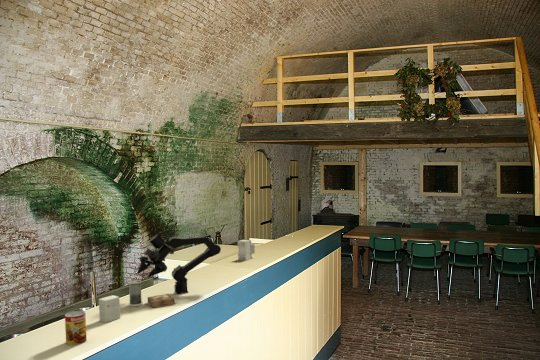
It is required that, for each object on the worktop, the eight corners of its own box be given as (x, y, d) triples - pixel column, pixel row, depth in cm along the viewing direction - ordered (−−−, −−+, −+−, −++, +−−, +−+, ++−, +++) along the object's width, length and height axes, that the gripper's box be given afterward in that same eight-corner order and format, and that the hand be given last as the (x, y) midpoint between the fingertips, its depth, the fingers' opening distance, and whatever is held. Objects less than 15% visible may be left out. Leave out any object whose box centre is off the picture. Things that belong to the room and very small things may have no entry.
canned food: (76, 346, 180) (75, 317, 180) (61, 344, 183) (60, 315, 183) (90, 339, 187) (89, 311, 187) (76, 337, 190) (75, 309, 190)
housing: (141, 301, 242) (140, 279, 242) (144, 305, 235) (143, 281, 235) (127, 304, 238) (126, 281, 238) (130, 307, 232) (129, 283, 232)
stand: (168, 299, 245) (168, 293, 245) (174, 304, 235) (174, 298, 235) (147, 302, 240) (147, 297, 240) (153, 307, 230) (152, 302, 229)
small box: (114, 316, 218) (113, 294, 218) (120, 318, 215) (119, 296, 215) (99, 320, 212) (98, 298, 212) (105, 322, 208) (104, 300, 208)
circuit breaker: (255, 257, 359) (255, 238, 359) (245, 260, 347) (245, 241, 347) (248, 256, 363) (247, 238, 363) (238, 259, 351) (237, 241, 351)
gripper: (144, 241, 254) (125, 261, 245) (166, 247, 243) (147, 268, 233) (153, 255, 260) (135, 275, 250) (174, 261, 249) (156, 282, 239)
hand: (143, 274), depth 243 cm, fingers open, 9 cm apart
